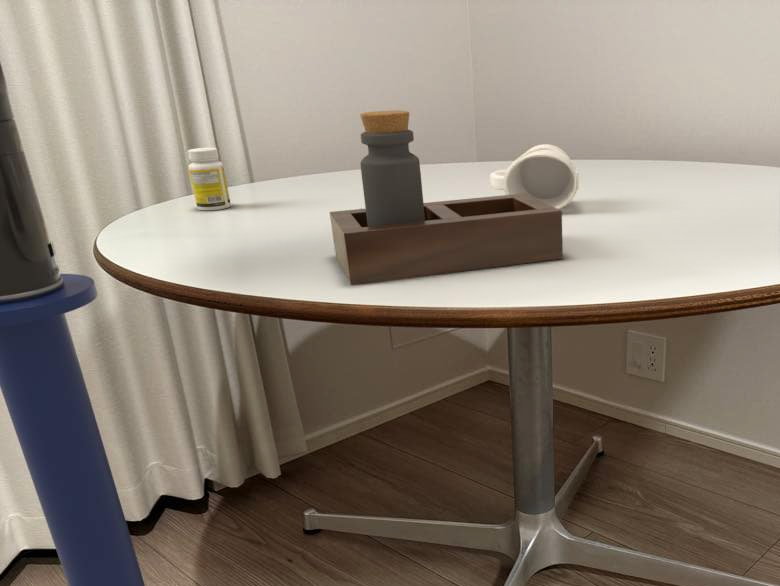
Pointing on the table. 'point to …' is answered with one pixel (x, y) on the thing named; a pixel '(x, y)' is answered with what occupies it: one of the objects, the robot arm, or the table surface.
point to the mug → (540, 176)
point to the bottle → (390, 170)
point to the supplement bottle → (208, 179)
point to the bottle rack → (448, 238)
